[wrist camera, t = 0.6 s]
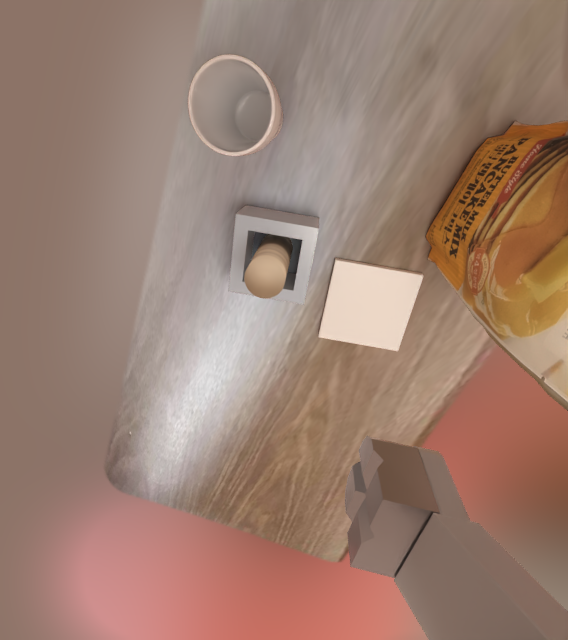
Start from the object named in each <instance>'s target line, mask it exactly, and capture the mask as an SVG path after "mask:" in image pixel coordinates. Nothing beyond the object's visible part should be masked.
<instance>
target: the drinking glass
mask: <svg viewBox="0 0 568 640" xmlns="http://www.w3.org/2000/svg"><path fill="white" fill-rule="evenodd" d="M188 111H189V116H190V120H191V123H192V125H193V128H194V129H195V131H196V133H197V135H198V136H199V137H200V139H201V140H202V141H203V142H204V143H205V144H206V145H207V146H208V147H210V148H211V149H212V150H214V151H216V152H218V153H221V154H224V155H228V156H245V155H250V154H253V153H256V152H258V151H260V150H262V149H263V148H265V147H266V146H267V145H268V144H269V143H270V142H271V141H272V140H273V139H274V138H275V137H276V136H277V135H278V133H279V132H280V130H281V127H282V124H283V110H282V107H281V102H280V98H279V95H278V92H277V89H276V87H275V85H274V84H273V82H272V80H271V79H270V78H269V76H268V75H267V74H266V73H265V72H264V71H263V70H262V69H261V68H260V67H259V66H258V65H256V64H255V63H254V62H252V61H251V60H249V59H247V58H245V57H242V56H239V55H233V54H226V55H220V56H217V57H214V58H212V59H210V60H209V61H207V62H206V63H205V64H203V65H202V66H201V67H200V69H199V70H198V71H197V73H196V74H195V76H194V78H193V80H192V82H191V85H190V89H189V94H188Z"/></svg>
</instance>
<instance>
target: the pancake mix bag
mask: <svg viewBox="0 0 568 640" xmlns="http://www.w3.org/2000/svg"><path fill="white" fill-rule="evenodd" d="M425 237H426V239H427V241H428V242H429V244H430V245H431V250H430V253H429V256H428V259H427V260H429V261H432V262H435V263H436V265H437V267H438V269H439V270H440V272H441V273H442V274H443V276H444V277H445V279H446V281H447V282H448V283H449V284H450V285H451V286H452V287H453V289H454V290H455V291H456V293H457V294H458V295H459V297H460V298H461V300H462V301H463V303H464V304H465V305H466V307H467V308H468V309H469V311H470V312H471V314H472V315H473V317H474V318H475V319H476V320H477V321H478V322H479V323H480V324H481V325H482V326H483V327H484V329H485V330H486V332H487V333H488V335H489V336H490V337H491V338H492V339H493V340H494V341H495V343H496V344H497V345H498V346H499V347H501V348H502V349H503V350H504V351H505V352H506V353H507V354H508V355H509V356H510V357H511V358H512V359H513V360H514V361H515V362H516V363H517V364H518V365H519V366H520V367H521V368H523V369H524V370H525V371H526V372H527V373H528V374H529V375H530V376H532V377H533V378H534V379H535V380H536V381H537V382H538V384H539V385H540V386H541V387H542V388H543V389H544V390H545V391H546V393H547V394H548V395H549V396H550V397H552V398H553V399H554V400H555V401H556V402H558V403H559V404H560V405H561V406H563V407H564V408H565V409H566V410H568V121H559V122H556V123H552V124H548V125H539V126H538V125H525V124H521V123H519V122H518V121H515V122H514V123H513V124H512V125H511V127H510V128H509V129H508V130H507V131H506V132H505V134H504V135H501V136H496V137H491V138H487V140H486V141H485V142H484V143H483V144H482V145H481V146H480V148H479V149H478V150H477V151H476V152H475V154H474V156H473V157H472V159H471V161H470V162H469V164H468V166H467V167H466V169H465V170H464V172H463V174H462V175H461V177H460V179H459V180H458V182H457V184H456V185H455V187H454V189H453V190H452V192H451V194H450V195H449V197H448V199H447V201H446V202H445V204H444V205H443V207H442V208H441V210H440V211H439V213H438V215H437V216H436V218H435V219H434V221H433V223H432V224H431V226H430V228H429V230H428V232H427V234H426V236H425Z"/></svg>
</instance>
